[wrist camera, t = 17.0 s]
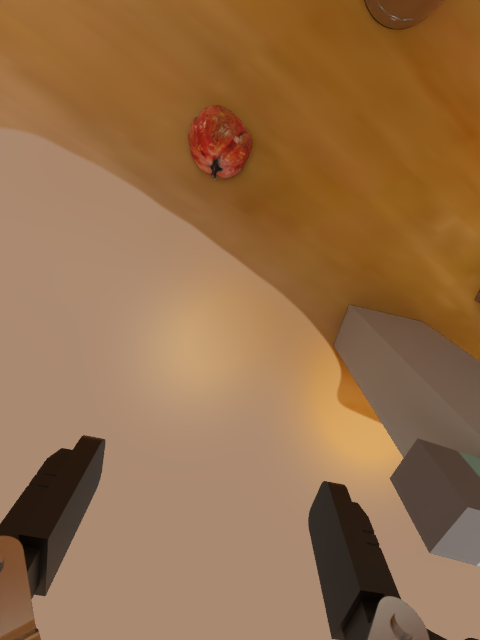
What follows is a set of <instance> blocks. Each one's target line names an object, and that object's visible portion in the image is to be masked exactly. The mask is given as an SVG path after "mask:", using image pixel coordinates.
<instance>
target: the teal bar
mask: <svg viewBox="0 0 480 640" xmlns="http://www.w3.org/2000/svg"><path fill="white" fill-rule="evenodd" d="M390 480H391V481H392V483H393V485H394V487H395V489H396V491H397V493H398V495H399V497H400V498H401V500H402V502H403V504H404V506H405V508H406V510H407V512H408V514H409V515H410V517H411V519H412V521H413V523H414V525H415V527H416V529H417V531H418V532H419V534H420V536H421V538H422V540H423V542H424V543H425V546H426V547H427V549H428V551H429V553H431V554H435V555H439V556H442V557H446V558H450V559H454V560H457V561H461V562H465V563H469V564H473V565H476V566H480V458H479V457H475V456H472V455H469V454H466V453H463V452H460V451H456V450H453V449H450V448H447V447H444V446H441V445H437V444H434V443H431V442H428V441H425V440H422V439H418V438H417V440H416V441H415V443H414V444H413V446H412V447H411V449H410V450H409V451H408V453H407V454H406V456H405V457H404V459H403V460H402V462H401V463H400V465H399V466H398V467H397V469H396V470H395V472H394V473H393V475H392V476H391V477H390Z"/></svg>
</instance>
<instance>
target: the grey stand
mask: <svg viewBox="0 0 480 640" xmlns="http://www.w3.org/2000/svg"><path fill="white" fill-rule="evenodd" d="M334 347H335V349H336V350H337V352H338V354H339V355H340V357H341V358H342V360H343V362H344V363H345V365H346V366H347V368H348V370H349V371H350V373H351V374H352V376H353V378H354V379H355V381H356V382H357V384H358V386H359V387H360V389H361V390H362V392H363V394H364V395H365V397H366V398H367V400H368V402H369V403H370V405H371V406H372V408H373V410H374V411H375V413H376V414H377V416H378V418H379V419H380V421H381V422H382V424H383V426H384V427H385V429H386V430H387V432H388V434H389V435H390V437H391V438H392V440H393V441H394V443H395V445H396V446H397V448H398V450H399V451H400V453H401V454H402V456H403V458H404V457H405V456H406V454H407V453H408V451H409V450H410V449H411V447H412V446H413V444H414V443H415V441H416V440H417V438H418V439H422V440H425V441H428V442H431V443H434V444H437V445H441V446H444V447H447V448H450V449H453V450H456V451H460V452H463V453H466V454H469V455H472V456H475V457H479V458H480V361H478V360H477V359H475V358H474V357H473V356H471V355H470V354H468V353H467V352H465V351H464V350H463V349H461V348H460V347H458V346H457V345H455V344H454V343H453V342H451V341H450V340H448V339H447V338H445V337H444V336H443V335H441V334H440V333H438V332H437V331H435V330H434V329H433V328H431V327H430V326H428V325H427V324H425V323H424V322H421V321H417V320H413V319H409V318H404V317H400V316H396V315H392V314H387V313H383V312H379V311H375V310H370V309H366V308H362V307H358V306H353V305H349V306H348V309H347V312H346V314H345V317H344V320H343V322H342V325H341V328H340V330H339V333H338V335H337V338H336V341H335V343H334Z"/></svg>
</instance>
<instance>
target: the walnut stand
mask: <svg viewBox="0 0 480 640" xmlns="http://www.w3.org/2000/svg"><path fill="white" fill-rule="evenodd" d="M475 301H477V302H479V303H480V290H479V292H478V294H477V296H476V298H475Z"/></svg>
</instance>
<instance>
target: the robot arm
mask: <svg viewBox="0 0 480 640" xmlns="http://www.w3.org/2000/svg"><path fill="white" fill-rule="evenodd" d="M443 1H444V0H365V2H366V5H367V8H368V9H369V11H370V13H371V14H372V16H373V17H374V18H375V19H376V20H377V21H378V22H379V23H381V24H382V25H384V26H386V27H389V28H393V29H403V28H407V27H411V26H413V25H415V24H417V23H419V22H420V21H421V20H423V19H424V18H425V17H426V16H428V15H429V14H430V13H431V12H432V11H433V10H434V9H435V8H436V7H437V6H438V5H439V4H440V3H442V2H443ZM104 449H105V439H101V438H96V437H90V436H85V435H83V436H82V437H81V438H80V440H79V441H78V443H77V444H76V446H75V447H74V449H73V450H70V449H63V448H62V449H60V450H58V451H57V452H56V453H54V454H53V455H51V456H50V457H49V458H47V460H46V461H45V462H44V464H43V465H42V467H41V468H40V469H39V471H38V472H37V475H35V476H34V478H33V479H32V481H31V482H30V484H29V486H27V487H26V489H25V490H24V492H23V493H22V495H21V496H20V497H19V499H18V500H17V501H16V503H15V504H14V506H13V507H12V508H11V510H10V511H9V513H8V514H7V515H6V517H5V518H4V520H3V521H2V522H1V524H0V640H41V639H40V634H39V631H38V629H37V628H36V625H35V620H34V614H33V607H32V601H31V599H32V598H33V595H41V596H46V594H47V592H48V589H49V587H50V585H51V583H52V581H53V579H54V577H55V575H56V573H57V571H58V568H59V566H60V564H61V562H62V560H63V558H64V556H65V554H66V552H67V550H68V548H69V546H70V543H71V541H72V539H73V537H74V535H75V533H76V531H77V529H78V527H79V524H80V522H81V520H82V518H83V516H84V514H85V512H86V510H87V508H88V506H89V504H90V502H91V500H92V497H93V495H94V493H95V491H96V489H97V486H98V483H99V480H100V477H101V473H102V465H103V457H104ZM308 521H309V531H310V536H311V540H312V545H313V550H314V555H315V560H316V565H317V570H318V574H319V579H320V584H321V589H322V594H323V599H324V603H325V608H326V613H327V618H328V623H329V627H330V632H331V637H332V639H338V640H446V639H445V638H443V637H441V636H439V635H437V634H435V633H433V632H431V631H430V630H428V629H426V627H425V625H424V623H423V622H422V620H421V618H420V617H419V616H418V614H417V613H416V612H415V611H414V610H413V609H412V608H411V607H410V606H409V605H408V604H407V603H405V602H404V601H402V600H401V598H400V596H399V593H398V591H397V588H396V586H395V583H394V580H393V578H392V575H391V573H390V571H389V568H388V565H387V563H386V561H385V558H384V555H383V553H382V550H381V548H379V543H378V540H377V538H376V535H374V530H373V528H372V525H371V523H370V520H369V518H368V516H367V515H366V513H365V512H364V511H363V509H362V508H361V507H360V505H359V504H358V503H355V502H352V501H351V498H350V495H349V493H348V490H347V488H346V486H345V485H342V484H337V483H332V482H327V481H324V482H323V483H322V484H321V486H320V488H319V491H318V493H317V495H316V498H315V500H314V502H313V504H312V507H311V509H310V513H309V520H308ZM465 640H478V639H474V638H467V639H465Z"/></svg>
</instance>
